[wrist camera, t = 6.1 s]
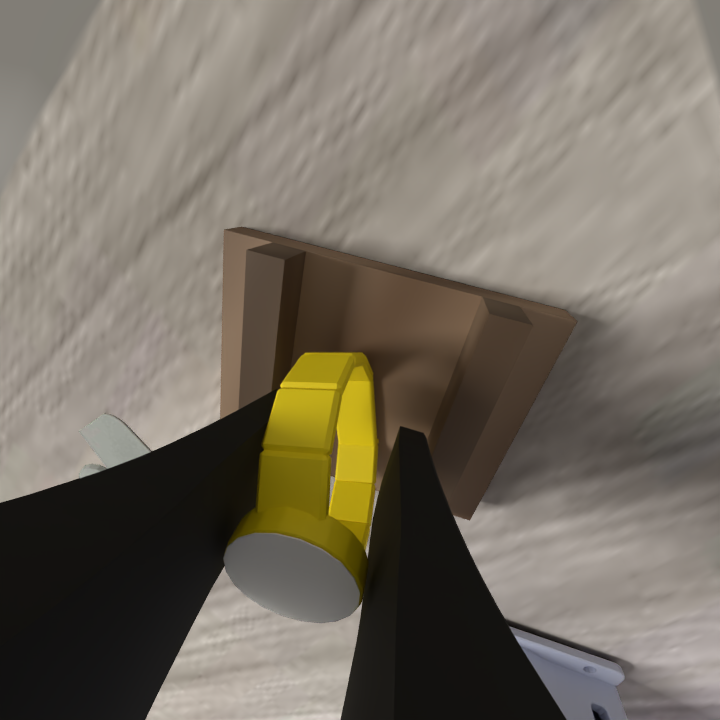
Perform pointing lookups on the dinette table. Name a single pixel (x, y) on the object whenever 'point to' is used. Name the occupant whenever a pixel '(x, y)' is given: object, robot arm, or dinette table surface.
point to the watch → (312, 494)
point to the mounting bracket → (111, 443)
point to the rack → (391, 349)
